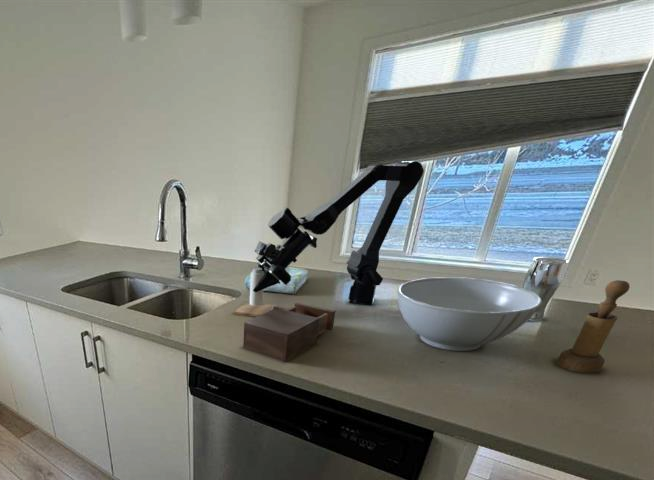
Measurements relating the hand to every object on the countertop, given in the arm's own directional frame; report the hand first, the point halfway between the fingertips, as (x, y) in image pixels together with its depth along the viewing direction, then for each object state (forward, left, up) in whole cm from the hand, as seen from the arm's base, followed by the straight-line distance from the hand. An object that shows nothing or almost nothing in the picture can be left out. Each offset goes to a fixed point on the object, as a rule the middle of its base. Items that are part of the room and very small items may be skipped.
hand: (252, 289), depth 125 cm
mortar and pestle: (-74, +9, -7) cm, 75 cm away
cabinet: (-16, +23, -7) cm, 29 cm away
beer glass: (-69, -20, -7) cm, 72 cm away
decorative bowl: (-52, +4, -7) cm, 53 cm away
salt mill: (-1, -1, -5) cm, 5 cm away
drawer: (-19, +13, -6) cm, 24 cm away
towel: (+1, -29, -7) cm, 30 cm away
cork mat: (-1, -1, -7) cm, 7 cm away
